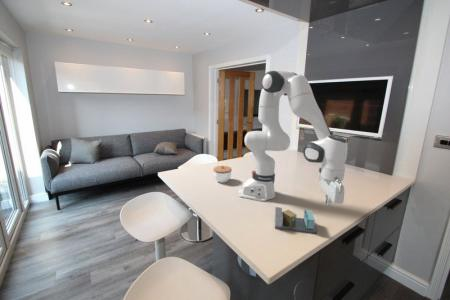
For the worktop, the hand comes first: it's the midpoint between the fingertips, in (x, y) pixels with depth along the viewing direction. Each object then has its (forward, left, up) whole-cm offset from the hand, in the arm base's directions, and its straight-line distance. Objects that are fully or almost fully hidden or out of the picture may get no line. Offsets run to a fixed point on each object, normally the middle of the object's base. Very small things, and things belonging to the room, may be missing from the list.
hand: (328, 203), depth 96 cm
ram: (-7, 0, -11) cm, 13 cm away
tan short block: (-16, +1, -11) cm, 20 cm away
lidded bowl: (-57, +46, -13) cm, 75 cm away
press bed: (-13, 0, -13) cm, 18 cm away
